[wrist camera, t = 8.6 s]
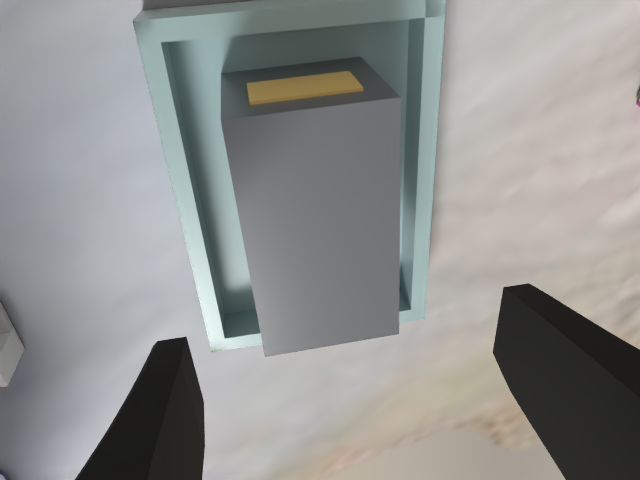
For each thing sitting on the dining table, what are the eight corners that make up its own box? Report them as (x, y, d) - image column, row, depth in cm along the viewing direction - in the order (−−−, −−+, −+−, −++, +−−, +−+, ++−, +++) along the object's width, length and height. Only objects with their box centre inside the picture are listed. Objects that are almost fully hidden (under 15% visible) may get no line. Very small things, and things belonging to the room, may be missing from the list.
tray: (410, 291, 23) (424, 318, 21) (212, 320, 22) (211, 352, 20) (424, -15, 16) (446, -7, 15) (141, 10, 15) (132, 21, 14)
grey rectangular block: (367, 259, 21) (398, 333, 17) (257, 276, 20) (265, 356, 17) (360, 54, 16) (401, 94, 13) (220, 70, 16) (219, 116, 12)
